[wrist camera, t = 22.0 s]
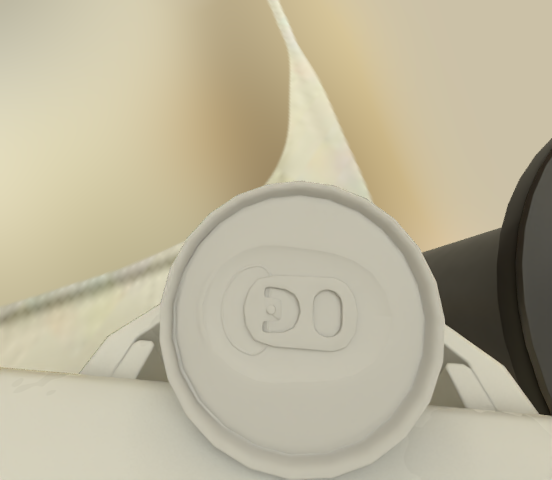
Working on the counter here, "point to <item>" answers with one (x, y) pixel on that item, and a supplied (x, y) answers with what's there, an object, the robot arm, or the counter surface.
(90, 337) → the counter surface
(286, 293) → the beverage can
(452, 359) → the robot arm
